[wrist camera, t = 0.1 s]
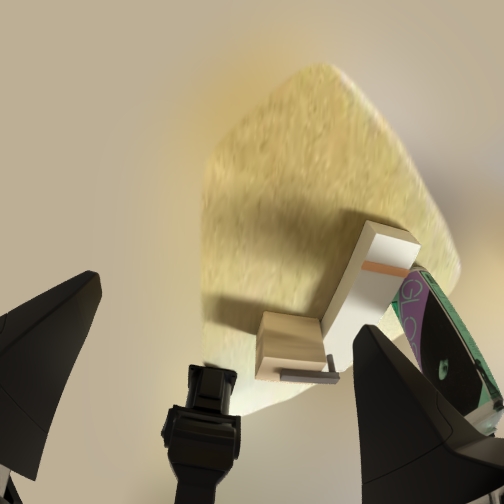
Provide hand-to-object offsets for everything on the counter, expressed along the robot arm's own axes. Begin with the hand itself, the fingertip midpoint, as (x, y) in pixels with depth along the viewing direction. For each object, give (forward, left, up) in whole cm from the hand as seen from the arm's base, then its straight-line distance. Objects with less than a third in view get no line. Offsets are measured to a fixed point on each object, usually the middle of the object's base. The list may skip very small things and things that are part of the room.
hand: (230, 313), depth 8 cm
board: (-10, -13, -15) cm, 22 cm away
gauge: (-15, -7, -15) cm, 22 cm away
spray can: (-7, -19, -15) cm, 25 cm away
